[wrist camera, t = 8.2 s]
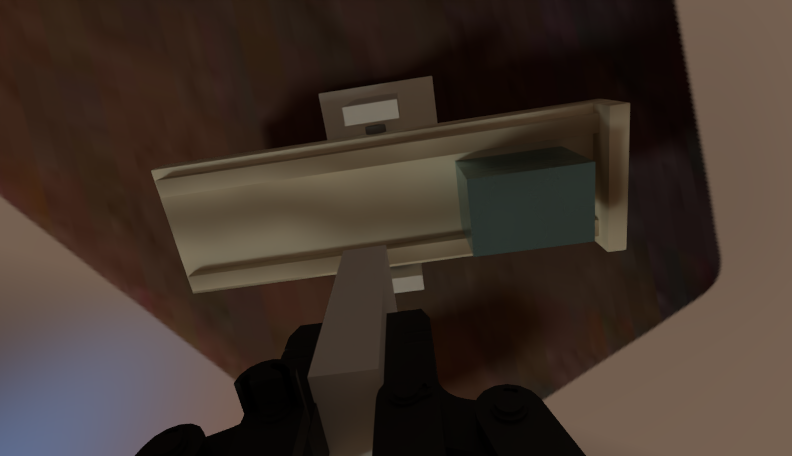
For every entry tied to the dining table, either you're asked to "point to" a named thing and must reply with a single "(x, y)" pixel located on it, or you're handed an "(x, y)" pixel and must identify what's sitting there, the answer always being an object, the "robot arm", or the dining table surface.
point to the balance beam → (371, 193)
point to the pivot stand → (396, 110)
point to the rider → (526, 200)
